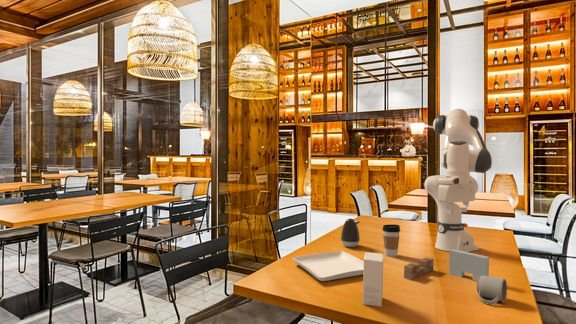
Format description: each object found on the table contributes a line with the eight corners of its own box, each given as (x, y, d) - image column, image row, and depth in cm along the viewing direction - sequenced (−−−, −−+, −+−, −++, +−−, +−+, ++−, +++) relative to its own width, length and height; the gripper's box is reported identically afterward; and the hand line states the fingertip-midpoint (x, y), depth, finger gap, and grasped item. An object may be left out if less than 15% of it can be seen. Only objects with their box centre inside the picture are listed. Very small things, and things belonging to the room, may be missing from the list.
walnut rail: (426, 268, 147) (426, 257, 147) (433, 270, 145) (433, 258, 145) (404, 277, 136) (404, 265, 136) (410, 280, 134) (410, 267, 133)
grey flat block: (449, 273, 141) (449, 250, 140) (452, 272, 143) (453, 249, 142) (485, 283, 130) (485, 258, 130) (488, 282, 132) (489, 256, 131)
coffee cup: (401, 258, 162) (401, 227, 161) (382, 257, 163) (383, 226, 163) (398, 253, 170) (399, 223, 170) (381, 252, 172) (381, 223, 171)
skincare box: (364, 294, 120) (364, 251, 119) (383, 297, 118) (383, 253, 117) (362, 305, 111) (362, 258, 111) (382, 307, 110) (383, 260, 109)
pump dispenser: (355, 249, 176) (355, 221, 175) (337, 246, 182) (337, 218, 182) (363, 245, 184) (363, 218, 183) (346, 242, 190) (346, 216, 190)
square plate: (291, 264, 153) (291, 256, 153) (342, 257, 164) (342, 249, 164) (319, 286, 128) (319, 276, 128) (377, 276, 139) (377, 266, 139)
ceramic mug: (481, 291, 123) (481, 270, 122) (507, 298, 117) (507, 276, 117) (472, 301, 115) (473, 279, 115) (500, 308, 109) (500, 285, 109)
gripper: (465, 179, 148) (464, 210, 148) (435, 179, 138) (434, 213, 138) (479, 179, 142) (479, 212, 142) (449, 180, 132) (448, 215, 132)
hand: (457, 212), depth 140 cm, fingers open, 8 cm apart
